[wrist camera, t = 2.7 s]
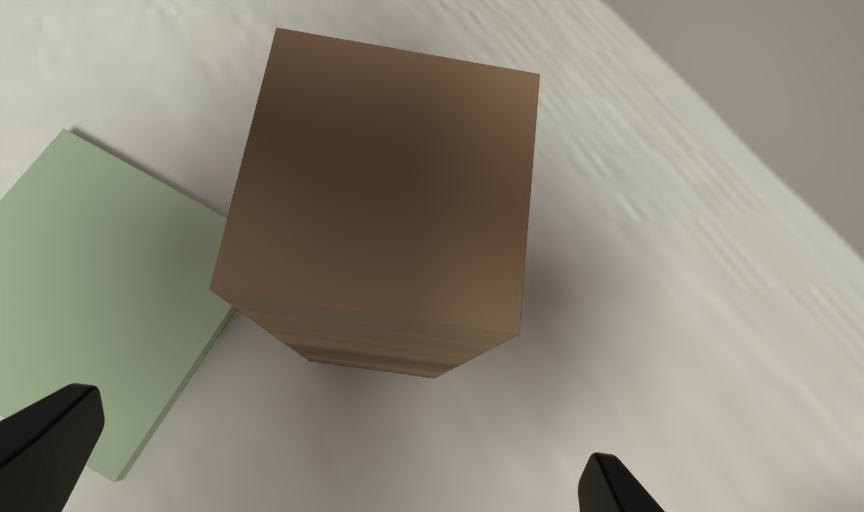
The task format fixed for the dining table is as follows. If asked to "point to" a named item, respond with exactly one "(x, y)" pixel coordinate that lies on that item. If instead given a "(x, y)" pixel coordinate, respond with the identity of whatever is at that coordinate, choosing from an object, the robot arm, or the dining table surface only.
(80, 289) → the sage green tile
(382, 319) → the walnut block
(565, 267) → the dining table surface
